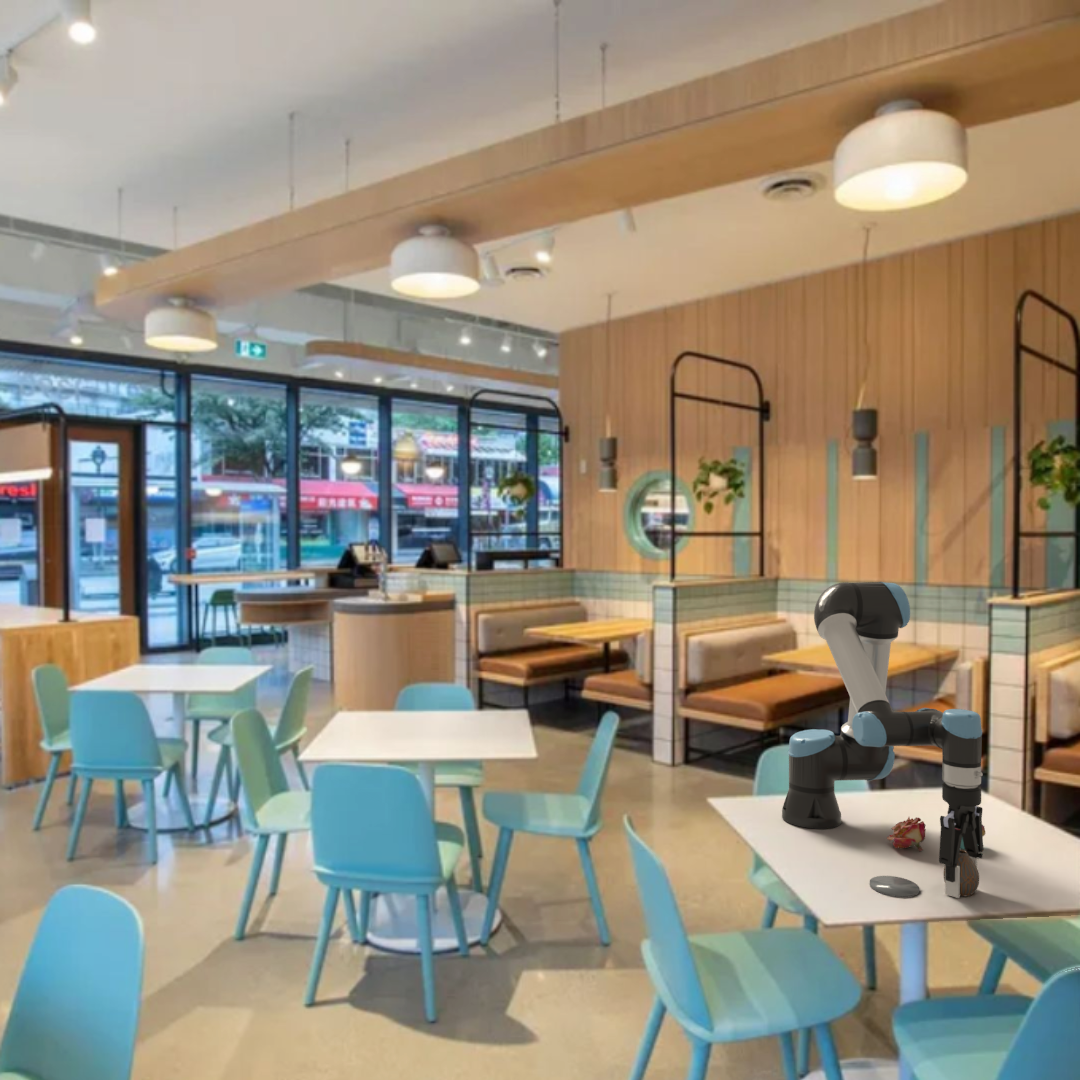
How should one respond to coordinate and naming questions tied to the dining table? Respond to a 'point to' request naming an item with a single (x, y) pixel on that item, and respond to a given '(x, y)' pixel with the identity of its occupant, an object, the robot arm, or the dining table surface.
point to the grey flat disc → (894, 886)
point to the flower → (908, 833)
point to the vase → (967, 874)
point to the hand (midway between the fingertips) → (961, 891)
